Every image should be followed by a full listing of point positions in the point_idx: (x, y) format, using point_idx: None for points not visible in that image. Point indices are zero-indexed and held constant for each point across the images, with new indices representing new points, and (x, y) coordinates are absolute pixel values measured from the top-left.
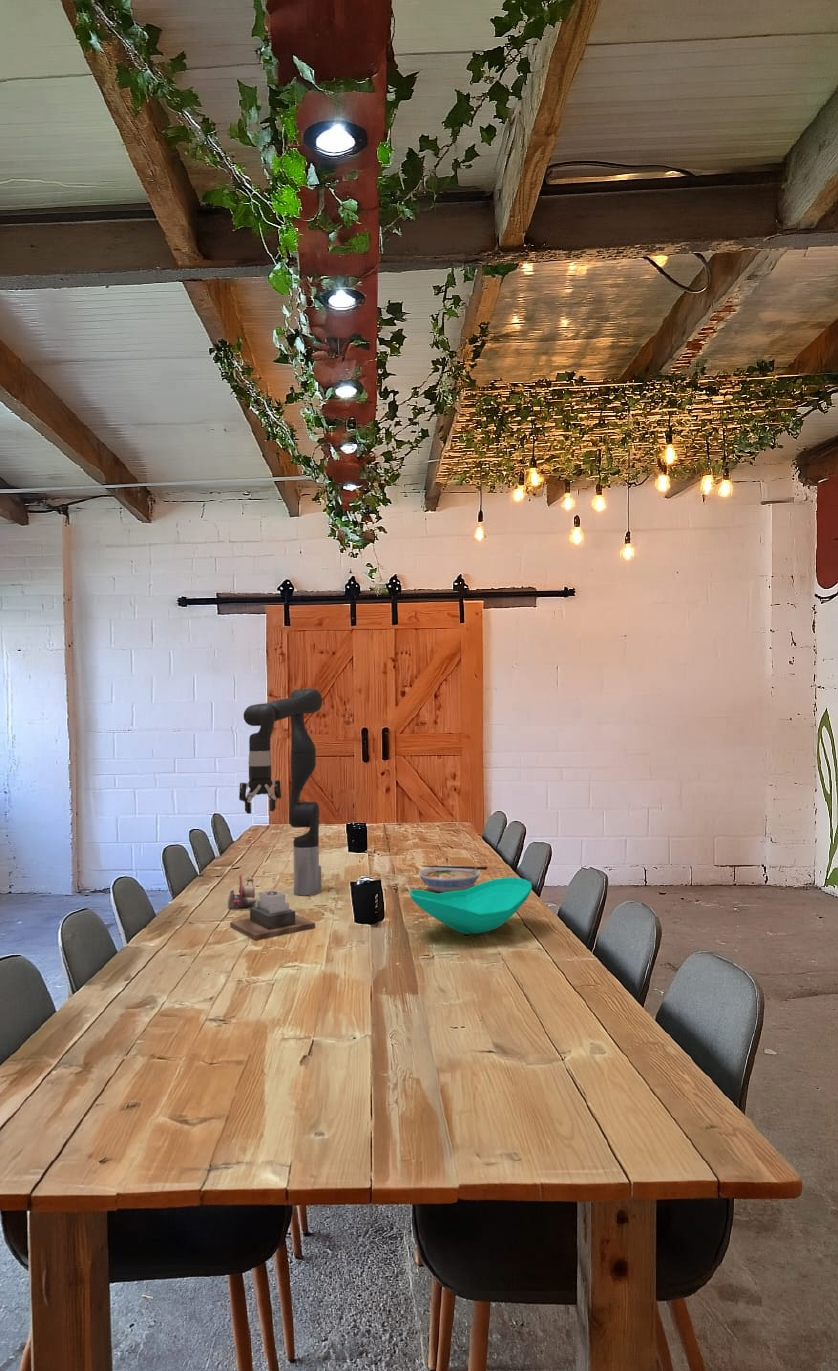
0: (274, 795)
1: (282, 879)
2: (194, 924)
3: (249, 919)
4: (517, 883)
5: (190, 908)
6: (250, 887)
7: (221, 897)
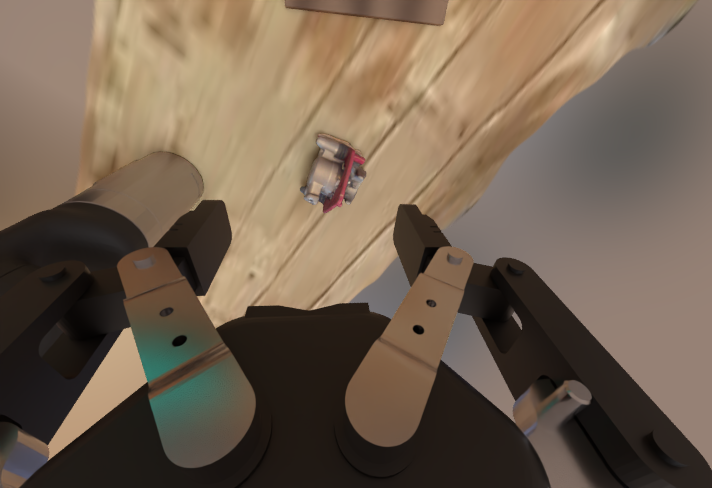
0: (125, 284)
1: None
2: (466, 113)
3: (400, 6)
4: None
5: None
6: (322, 171)
7: (333, 248)
